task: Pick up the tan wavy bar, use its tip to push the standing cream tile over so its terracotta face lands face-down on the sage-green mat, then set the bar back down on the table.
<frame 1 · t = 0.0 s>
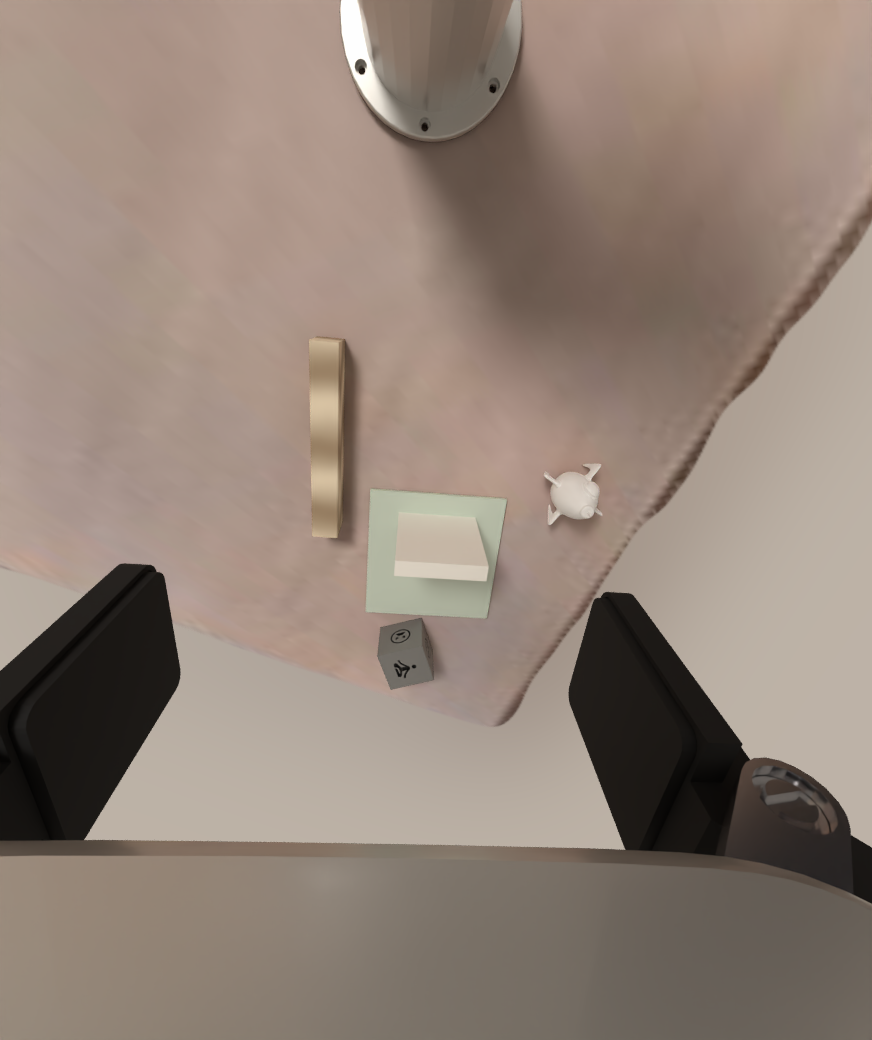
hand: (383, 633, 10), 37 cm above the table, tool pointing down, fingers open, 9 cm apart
tan wavy bar: (331, 436, 46), on the table
sage mat: (432, 556, 52), on the table
rocket toy: (564, 483, 49), on the table
dice cube: (406, 637, 57), on the table
cream tile: (436, 521, 50), resting on sage mat
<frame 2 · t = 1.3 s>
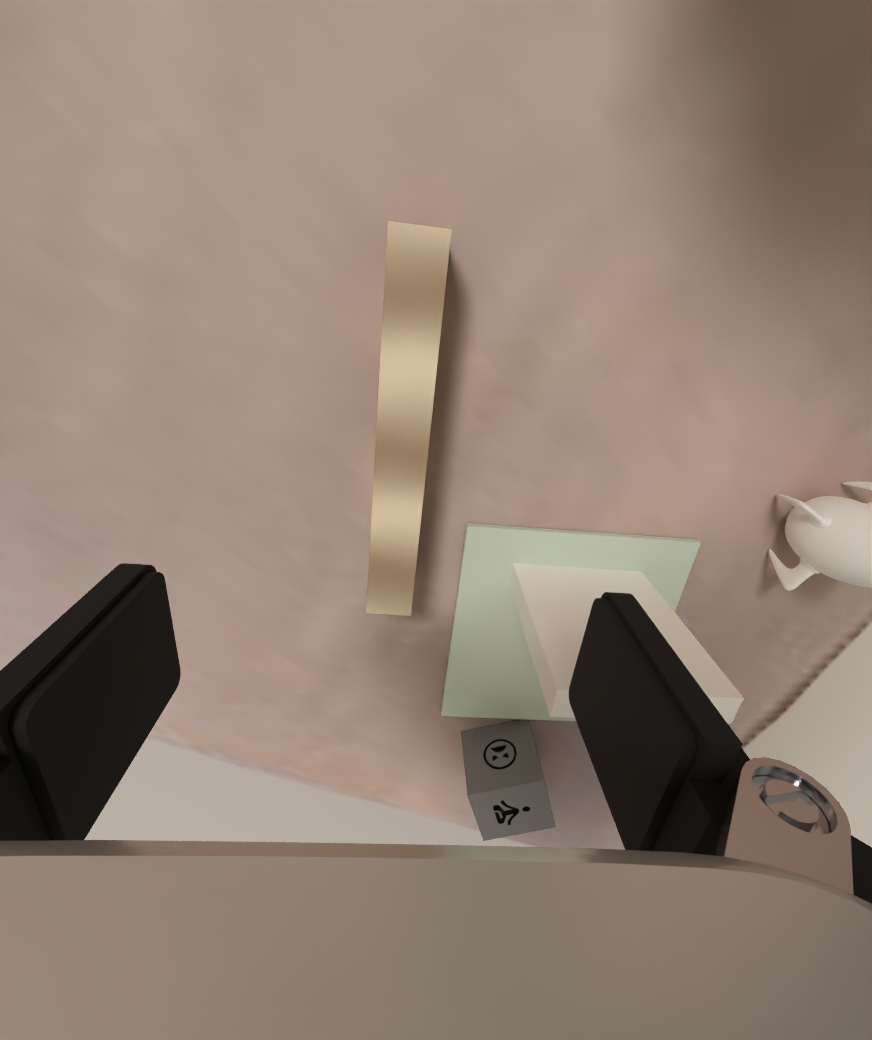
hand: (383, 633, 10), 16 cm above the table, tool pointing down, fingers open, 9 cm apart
tan wavy bar: (403, 431, 25), on the table
sage mat: (558, 632, 31), on the table
rocket toy: (799, 514, 28), on the table
dice cube: (500, 744, 36), on the table
cream tile: (575, 578, 29), resting on sage mat
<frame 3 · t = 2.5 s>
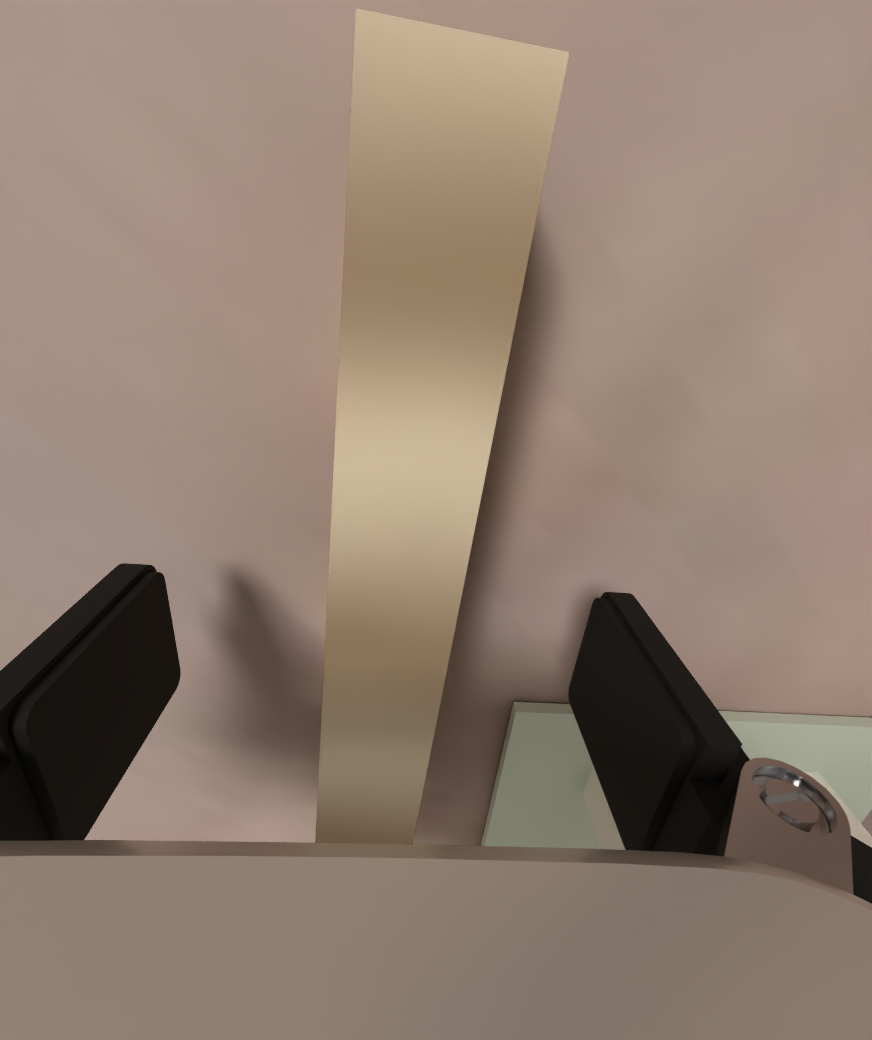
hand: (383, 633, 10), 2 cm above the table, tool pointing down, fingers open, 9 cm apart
tan wavy bar: (396, 550, 13), on the table
sage mat: (656, 847, 19), on the table
cream tile: (700, 782, 16), resting on sage mat
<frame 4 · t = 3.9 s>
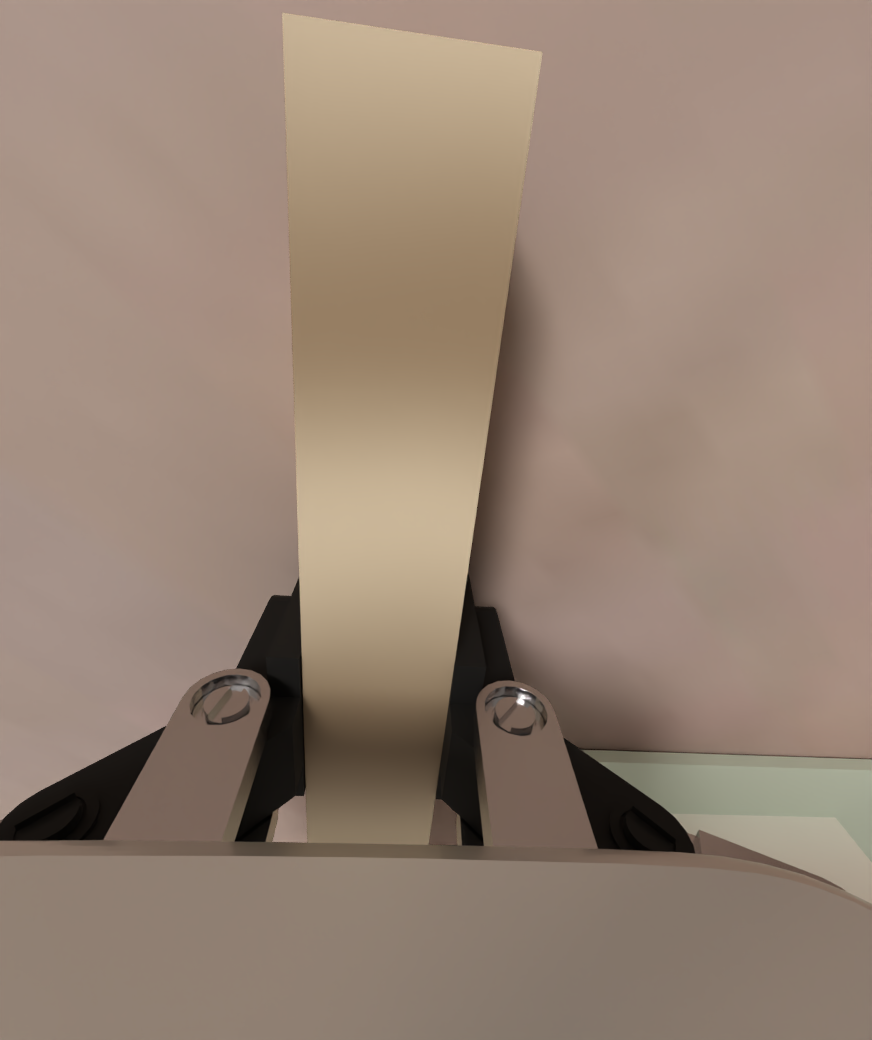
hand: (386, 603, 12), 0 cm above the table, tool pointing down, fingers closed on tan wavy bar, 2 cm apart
tan wavy bar: (386, 598, 12), on the table, touching gripper
sage mat: (664, 894, 18), on the table
cream tile: (711, 829, 15), resting on sage mat
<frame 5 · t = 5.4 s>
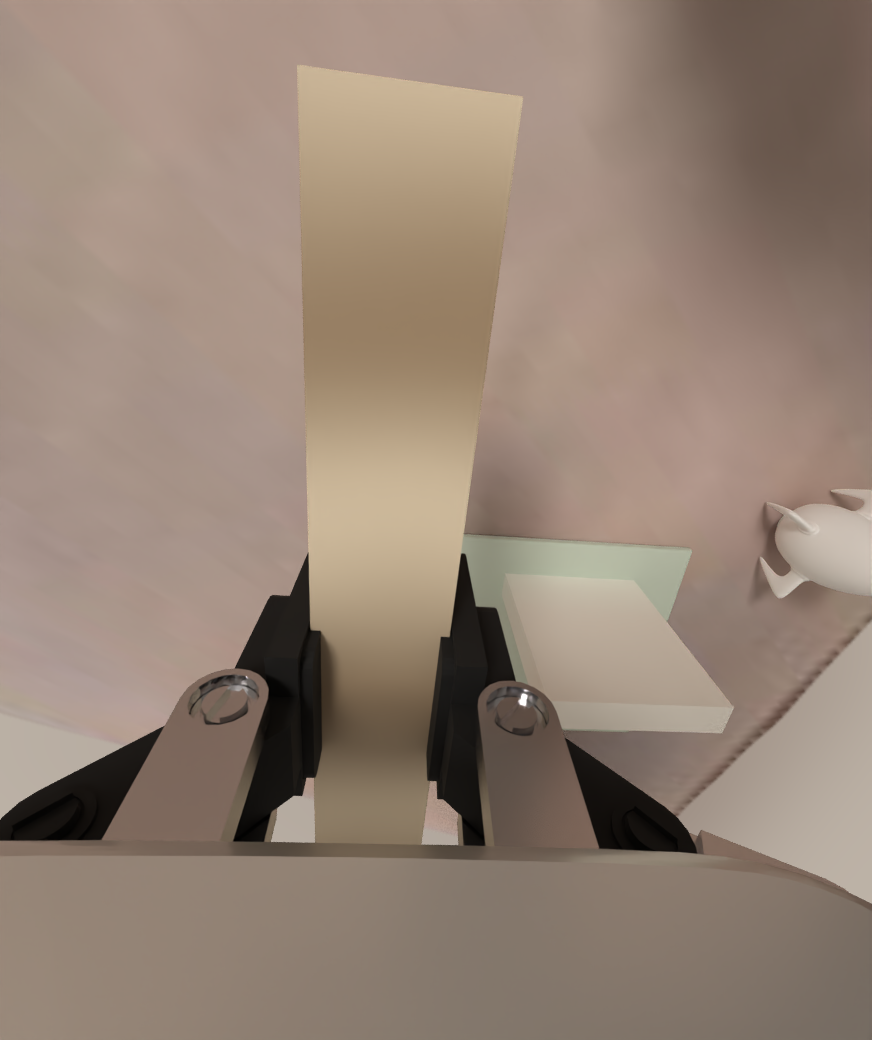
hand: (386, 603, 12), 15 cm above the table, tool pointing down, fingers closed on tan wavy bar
tan wavy bar: (387, 583, 13), point 14 cm above the table, touching gripper
sage mat: (552, 641, 31), on the table
rocket toy: (789, 521, 29), on the table
cream tile: (567, 587, 29), resting on sage mat
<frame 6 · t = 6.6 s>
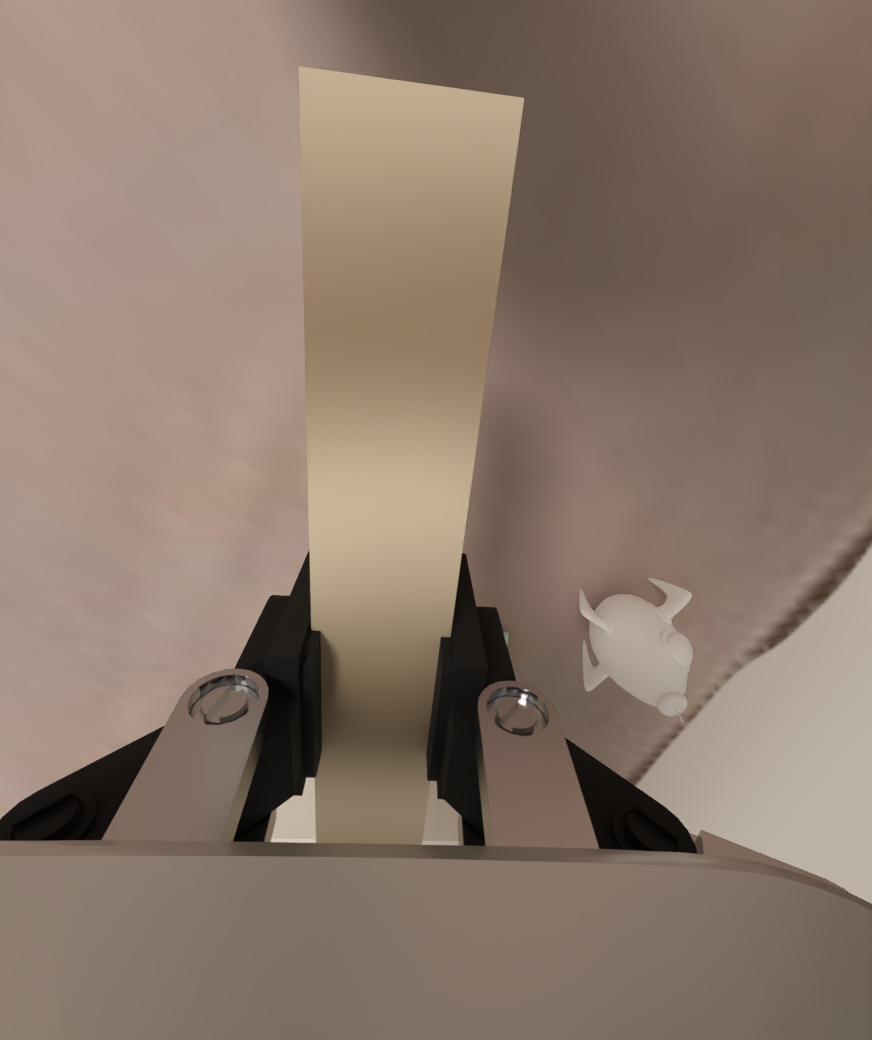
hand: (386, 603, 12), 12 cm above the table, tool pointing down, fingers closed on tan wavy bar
tan wavy bar: (388, 584, 13), point 11 cm above the table, touching gripper
rocket toy: (611, 605, 27), on the table
cream tile: (384, 670, 28), resting on sage mat
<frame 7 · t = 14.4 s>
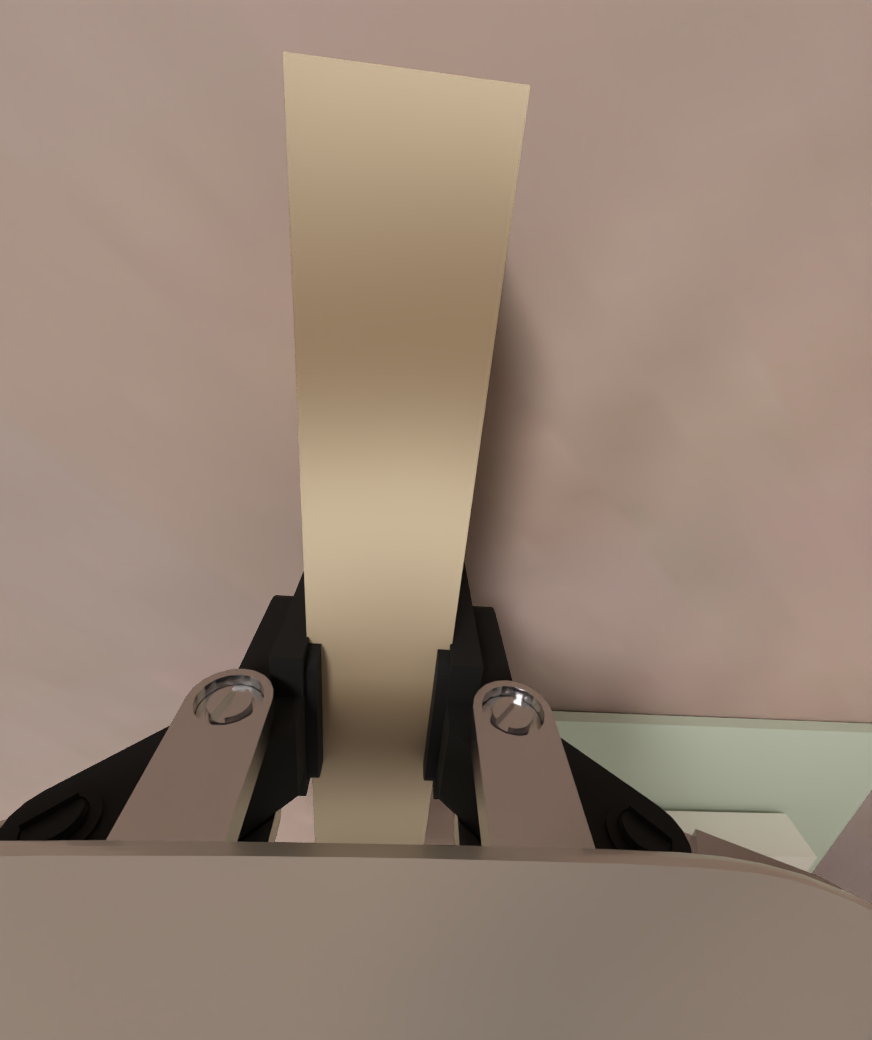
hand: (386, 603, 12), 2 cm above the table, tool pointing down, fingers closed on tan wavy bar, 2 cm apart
tan wavy bar: (387, 588, 12), point 1 cm above the table, touching gripper
sage mat: (646, 852, 19), on the table
cream tile: (692, 832, 16), point 1 cm above the table, tilted 90°, touching sage mat
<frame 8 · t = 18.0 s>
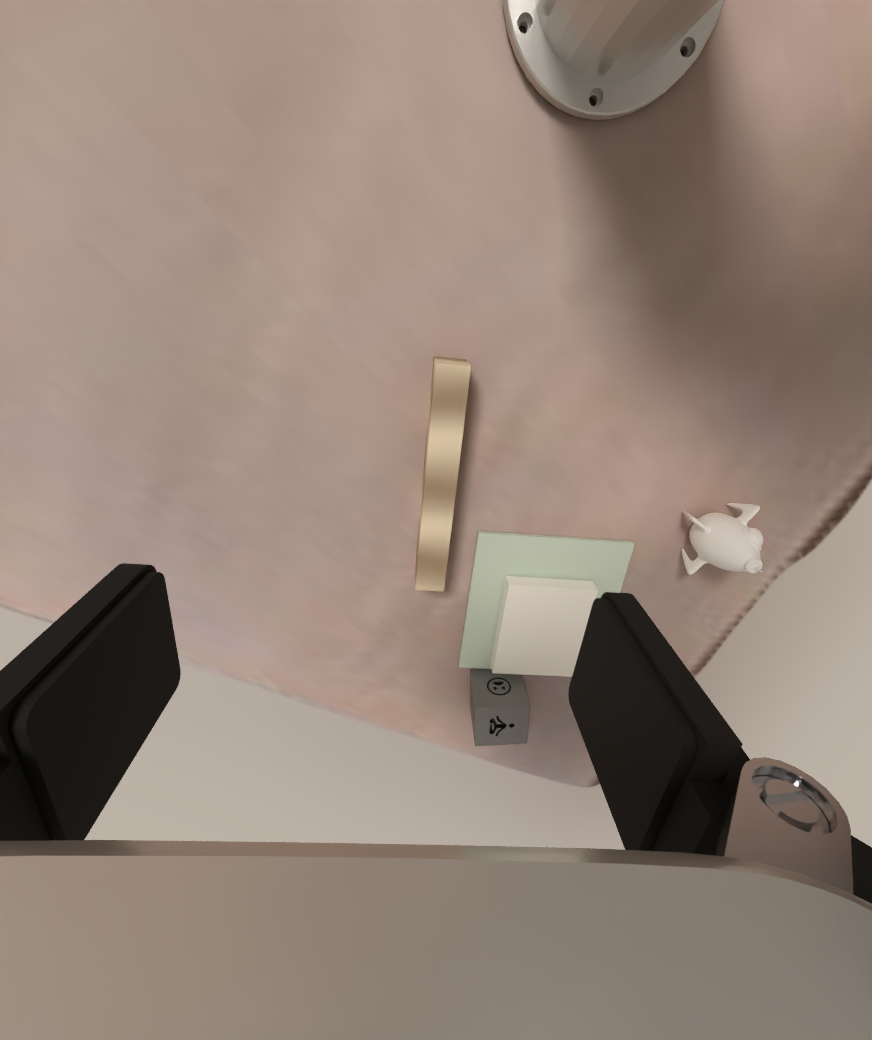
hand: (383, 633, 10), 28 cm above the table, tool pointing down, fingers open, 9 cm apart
tan wavy bar: (437, 471, 39), on the table
sage mat: (540, 606, 45), on the table
rocket toy: (701, 524, 42), on the table
dice cube: (493, 685, 49), on the table
cream tile: (551, 582, 42), point 1 cm above the table, tilted 90°, touching sage mat
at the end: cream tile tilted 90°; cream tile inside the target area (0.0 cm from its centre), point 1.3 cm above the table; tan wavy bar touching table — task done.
